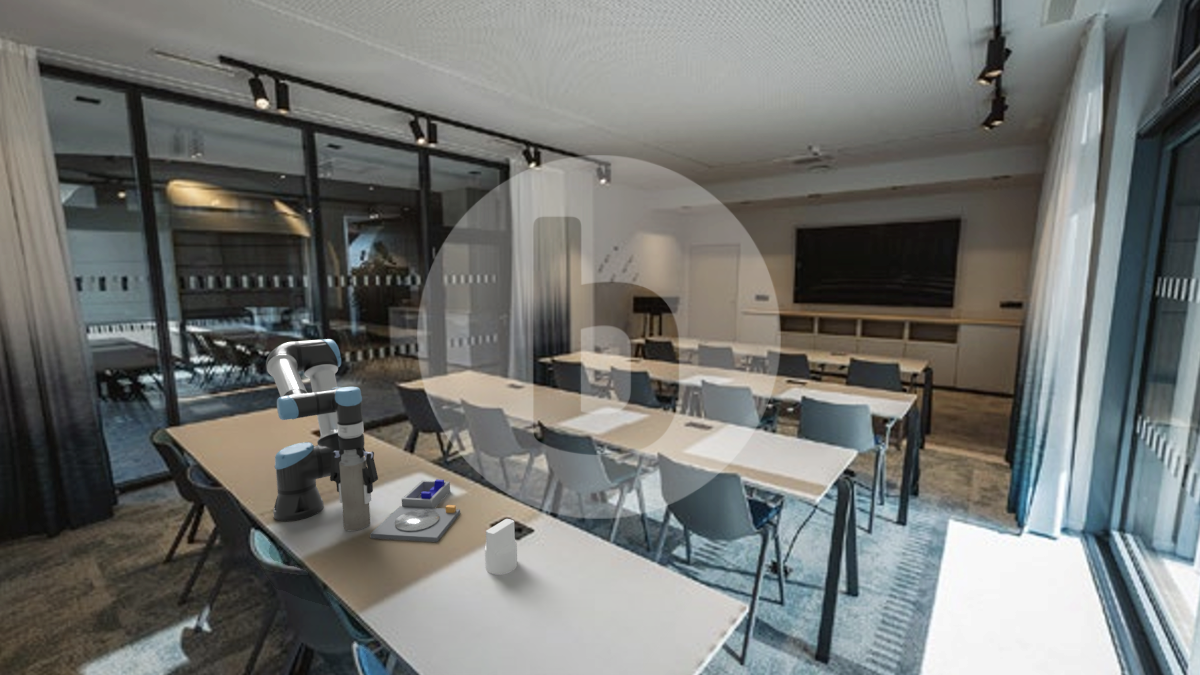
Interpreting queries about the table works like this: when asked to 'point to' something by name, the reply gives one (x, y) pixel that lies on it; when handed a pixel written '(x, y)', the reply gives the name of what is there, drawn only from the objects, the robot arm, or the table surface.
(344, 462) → the thermos bottle
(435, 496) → the desk organizer
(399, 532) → the rosette base
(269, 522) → the table surface
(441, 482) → the blue stepped block
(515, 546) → the cylinder with rectangular tab
